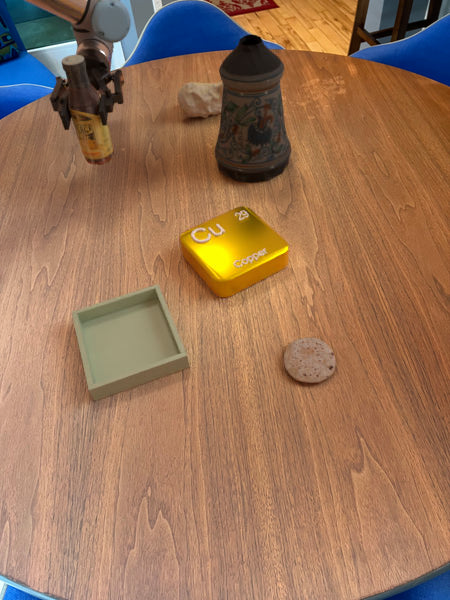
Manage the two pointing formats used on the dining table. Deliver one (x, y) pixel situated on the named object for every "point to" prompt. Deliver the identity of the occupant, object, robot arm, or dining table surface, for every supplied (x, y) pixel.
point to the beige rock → (201, 99)
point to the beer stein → (252, 114)
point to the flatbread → (309, 360)
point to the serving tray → (128, 342)
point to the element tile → (234, 251)
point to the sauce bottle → (86, 112)
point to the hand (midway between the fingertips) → (83, 120)
